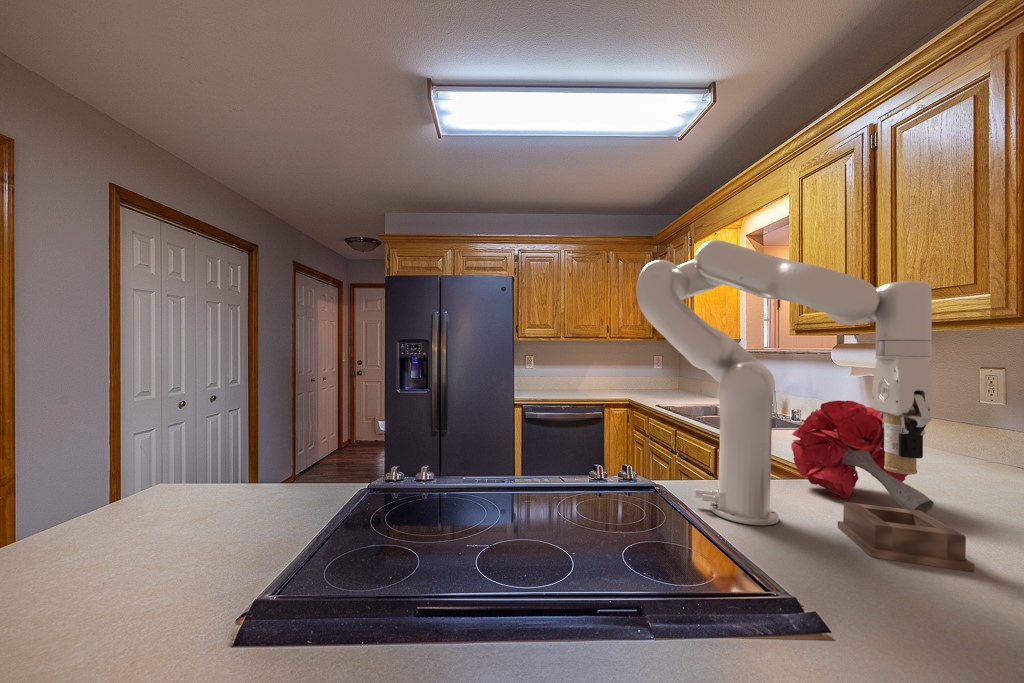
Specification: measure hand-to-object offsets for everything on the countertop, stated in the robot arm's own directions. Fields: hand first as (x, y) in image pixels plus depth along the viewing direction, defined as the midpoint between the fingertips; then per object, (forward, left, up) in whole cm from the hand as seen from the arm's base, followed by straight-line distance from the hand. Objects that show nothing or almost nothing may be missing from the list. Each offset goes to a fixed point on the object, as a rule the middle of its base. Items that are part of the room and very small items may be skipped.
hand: (902, 453), depth 79 cm
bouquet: (+5, +31, -17) cm, 35 cm away
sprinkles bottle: (0, 0, -4) cm, 4 cm away
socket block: (0, 0, -17) cm, 17 cm away
